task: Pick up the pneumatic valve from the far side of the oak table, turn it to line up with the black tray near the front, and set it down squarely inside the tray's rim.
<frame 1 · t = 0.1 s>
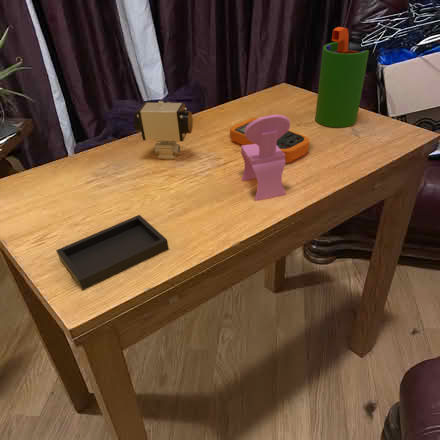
toy chair: (262, 187, 84), on the table
green cylindrical container: (334, 120, 105), on the table
black tray: (114, 254, 72), on the table
multimeter: (268, 147, 96), on the table
pneumatic valve: (169, 156, 96), on the table
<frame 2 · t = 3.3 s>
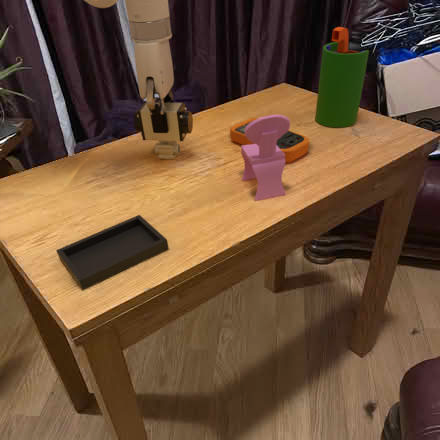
hand: (164, 125, 91), 7 cm above the table, tool pointing down, fingers closed on pneumatic valve, 5 cm apart
pneumatic valve: (169, 156, 96), on the table, touching gripper
everything else where it was.
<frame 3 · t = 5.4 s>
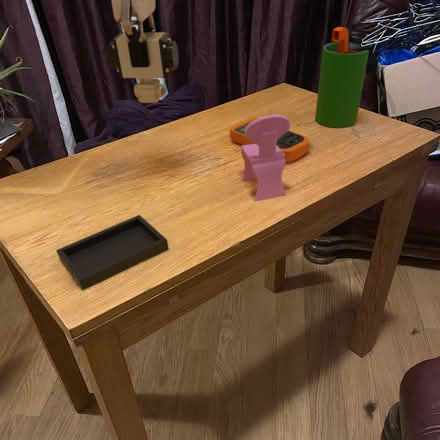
hand: (145, 60, 78), 21 cm above the table, tool pointing down, fingers closed on pneumatic valve, 5 cm apart
pneumatic valve: (151, 100, 83), point 14 cm above the table, touching gripper
everything else where it was.
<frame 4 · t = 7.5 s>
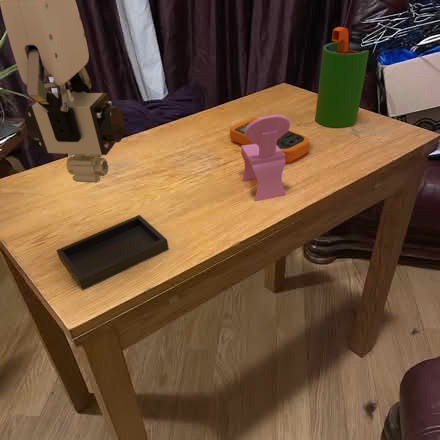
hand: (78, 128, 57), 21 cm above the table, tool pointing down, fingers closed on pneumatic valve, 5 cm apart
pneumatic valve: (92, 177, 62), point 14 cm above the table, touching gripper
everything else where it was.
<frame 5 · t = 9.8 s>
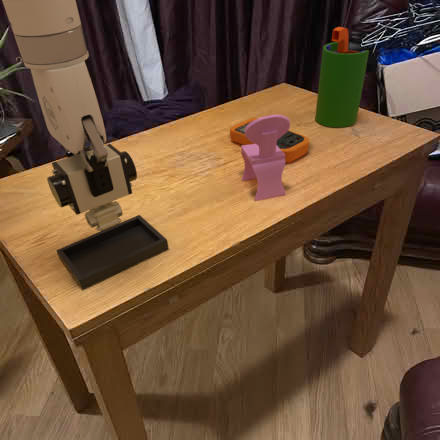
hand: (93, 183, 62), 13 cm above the table, tool pointing down, fingers closed on pneumatic valve, 5 cm apart
pneumatic valve: (105, 223, 67), point 6 cm above the table, touching gripper
everything else where it was.
when the fingers open (7 cm above the table, at t = 11.7 s): pneumatic valve stays where it is, resting on black tray.
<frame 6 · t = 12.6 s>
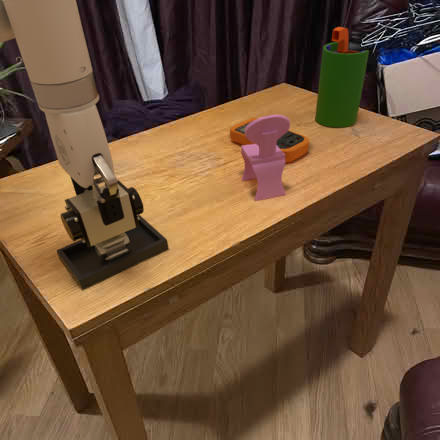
hand: (99, 207, 65), 9 cm above the table, tool pointing down, fingers open, 9 cm apart
pneumatic valve: (113, 252, 71), resting on black tray
everything else where it was.
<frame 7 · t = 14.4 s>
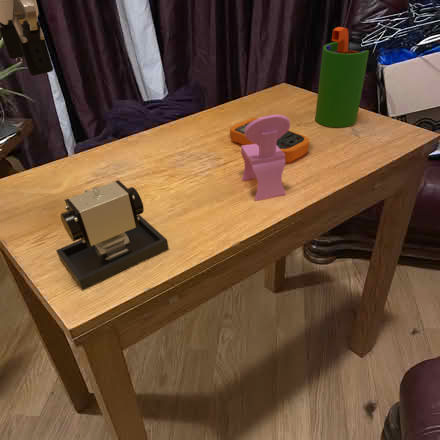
hand: (30, 64, 62), 26 cm above the table, tool pointing down, fingers open, 9 cm apart
nothing on the table moved.
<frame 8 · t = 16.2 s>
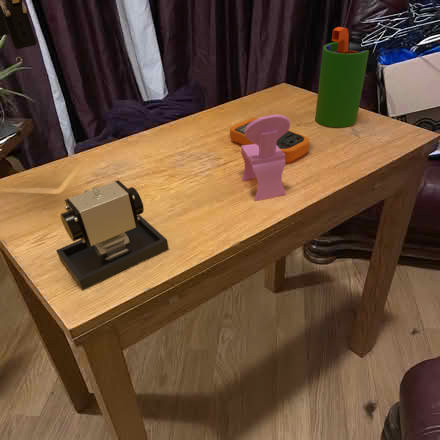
hand: (15, 40, 64), 28 cm above the table, tool pointing down, fingers open, 9 cm apart
nothing on the table moved.
at the end: pneumatic valve 0.1 cm off-centre in the black tray, point 0.3 cm above the black tray's base; pneumatic valve tilted 0°; the gripper is holding nothing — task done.
